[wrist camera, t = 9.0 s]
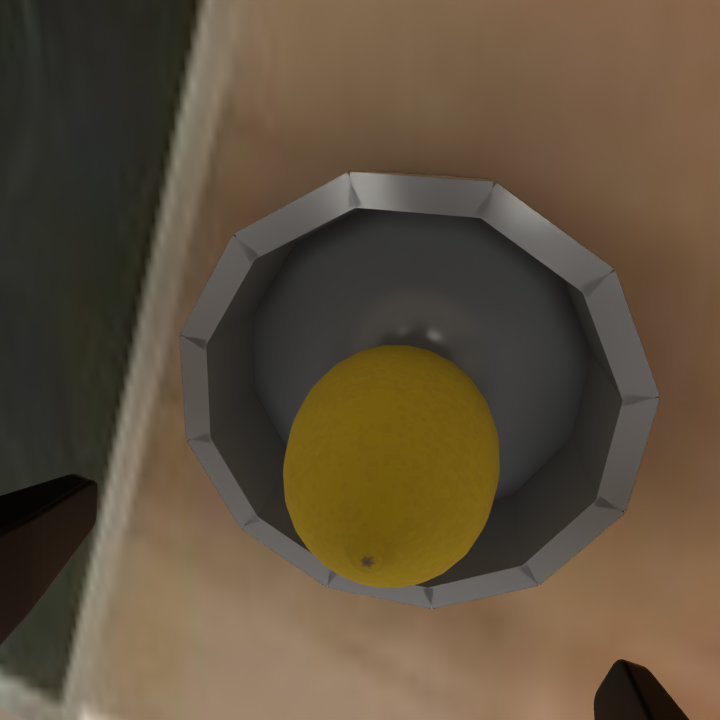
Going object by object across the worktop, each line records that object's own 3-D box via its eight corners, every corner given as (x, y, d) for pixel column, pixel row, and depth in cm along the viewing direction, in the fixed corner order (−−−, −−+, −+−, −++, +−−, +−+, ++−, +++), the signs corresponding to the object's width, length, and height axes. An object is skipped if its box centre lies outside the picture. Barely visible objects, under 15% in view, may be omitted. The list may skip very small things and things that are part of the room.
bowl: (656, 458, 18) (712, 547, 14) (337, 547, 22) (306, 636, 18) (522, 95, 15) (543, 66, 11) (183, 274, 19) (102, 304, 15)
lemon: (429, 485, 19) (404, 700, 11) (301, 402, 18) (192, 568, 11) (529, 374, 16) (576, 554, 9) (385, 276, 16) (315, 383, 9)
